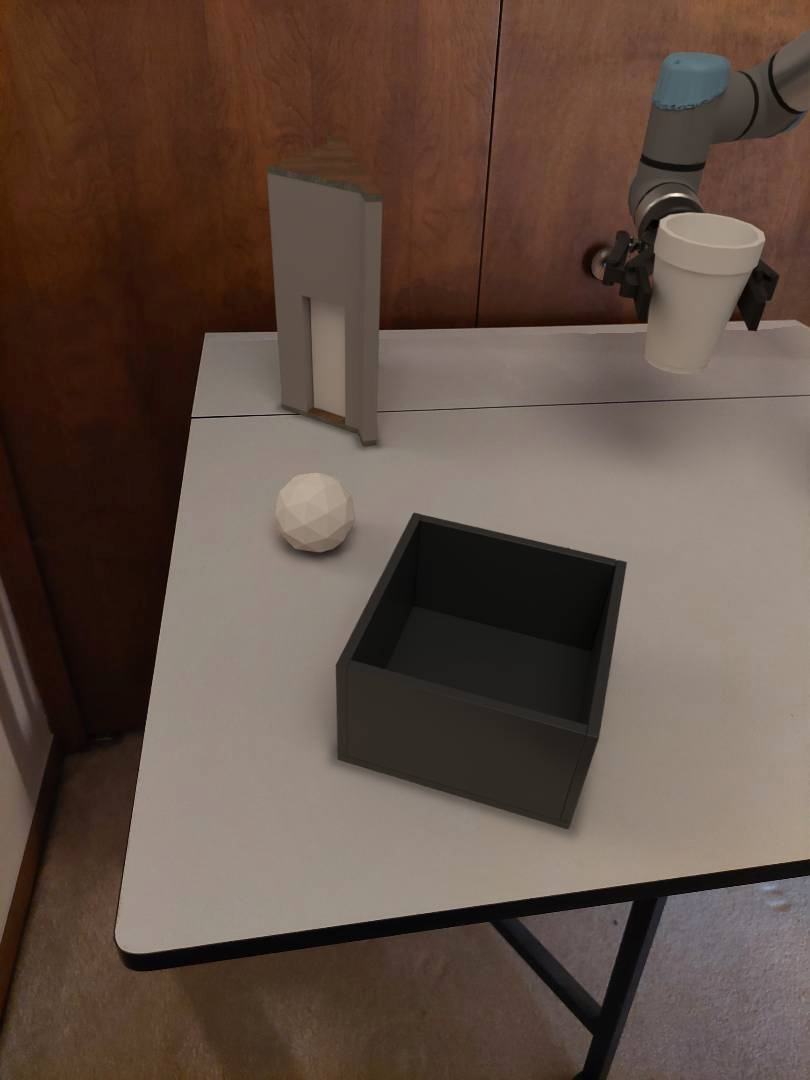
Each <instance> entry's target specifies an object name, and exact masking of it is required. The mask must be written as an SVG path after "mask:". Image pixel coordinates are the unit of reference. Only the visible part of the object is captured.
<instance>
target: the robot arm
mask: <svg viewBox="0 0 810 1080" xmlns="http://www.w3.org/2000/svg"><path fill="white" fill-rule="evenodd" d="M651 95H652V96H651V105H650V112H649V115H648V120H647V125H646V131H645V135H644V140H643V145H642V148H641V149H642V150H641V153H640V157H639V161H638V166H637V170H636V173H635V174H634V176H633V178H632V179H631V182H630V184H629V188H628V195H627V205H628V211H629V213H630V216H631V218H632V219H631V220H632V222H633V225H634V229H635V232H636V238H635V235H632V234H630V233H629V232H628V231H627V230H624V229H621V230H617V231H616V234H615V239H614V243H613V248H612V249H611V251H610V253H609V255H608V257H607V258H606V261H605V265H604V271H603V276H602V281H601V283H602V285H603V286H605V287H612V286H614V285H615V284H619V285H620V286H619V291H618V296H619V297H621V298H626V299H632V300H633V305H634V309H635V314H636V319H637V321H640V322H641V321H642V322H646V321H647V319H648V315H649V307H650V302H651V298H652V294H653V293H652V284H651V281H650V277H651V276H653V271H654V262H655V253H654V244H655V240H656V236H657V231H658V227H659V223H660V220H661V219H663V218H665V217H667V216H669V215H672V214H680V213H706V211H705V209H704V207H703V204H702V203H701V201H700V199H699V198H698V197H699V196H698V192H699V189H700V185H701V180H702V178H703V174H704V169H705V167H706V164H707V159H708V155H709V152H710V148H711V145H718V144H725V143H726V144H727V143H731V142H732V143H733V142H740V141H749V140H755V139H760V140H761V139H771V138H774V137H776V136H778V135H781V134H785V133H787V132H790V131H792V130H794V129H795V128H796V127H797V126H798V125H799V124H801V123H802V121H803V119H804V118H805V116H806V115H807V114H808V112H809V110H810V27H809V28H808V29H806V30H805V31H804V32H802V33H801V34H799V35H797V37H795V38H794V39H792V40H791V41H789V42H788V43H787V44H785V45H784V46H783V47H781V48H780V49H779V50H778V51H776V52H774V53H773V54H772V55H770V56H769V57H767V58H766V59H764V60H763V61H762V62H759V64H757V65H755V66H754V67H752V68H749V69H740V70H731V63H730V60H729V59H728V58H726V57H725V56H722V55H719V54H713V53H709V52H708V53H707V52H700V51H699V52H698V51H692V52H691V51H678V52H677V51H676V52H673V53H670V54H668V55H667V56H666V57H665V58H664V59H663V61H662V63H661V65H660V69H659V73H658V75H657V80H656V84H655V87H654V91H653V92H652V93H651ZM636 251H637V255H635V256H633V257H632V258H631V254H634V253H635V252H636ZM627 260H628V261H627ZM780 277H781V275H780V274H779V273H778V272H777V271H776V270H775V269H773V268H771V266H769V265H768V264H767V263H766V262H765V261H764V260H762V259H761V257H760V258H759V262H758V265H757V266H756V267H755V268H753V270H752V273H751V275H750V277H749V279H748V281H747V283H746V285H745V287H744V290H743V292H742V294H741V296H740V298H739V300H738V302H737V304H736V307H737V308H738V311H739V313H740V315H741V317H742V320H743V322H744V324H745V327H746V329H747V331H749V332H757V331H758V328H759V325H760V322H761V319H762V317H763V314H764V311H765V308H766V305H767V303H766V302H770V301H772V299H773V297H774V293H775V291H776V289H777V285H778V282H779V279H780Z"/></svg>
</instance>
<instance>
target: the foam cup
mask: <svg viewBox="0 0 810 1080" xmlns="http://www.w3.org/2000/svg"><path fill="white" fill-rule="evenodd" d="M765 243H766V237H765V233H764V231H762V230H761V229H759V228H758V227H756V226H755V225H753V224H752V223H749V222H746V221H743V220H740V219H737V218H735V217H731V216H725V215H720V214H715V213H710V212H709V213H708V212H707V213H706V212H705V213H680V214H672V215H669V216H667V217H665V218H663V219H661V220H660V223H659V227H658V231H657V236H656V240H655V244H654V253H655V262H654V271H653V274H652V281H651V289H652V293H653V294H652V298H651V302H650V306H649V310H648V315H647V326H646V335H645V343H644V356H643V358H644V359H645V360H646V361H647V362H648V363H649V365H651V366H653V367H655V368H657V369H659V370H661V371H664V372H668V373H672V374H679V375H680V374H681V375H691V374H698V373H701V372H703V371H704V370H705V369H707V367H708V365H709V363H710V361H711V359H712V357H713V355H714V353H715V351H716V349H717V347H718V345H719V343H720V340H721V338H722V336H723V334H724V332H725V330H726V328H727V326H728V323H729V322H730V319H731V317H732V315H733V313H734V311H735V309H736V307H737V302H738V300H739V298H740V296H741V294H742V292H743V290H744V287H745V285H746V283H747V281H748V279H749V277H750V275H751V273H752V270H753V268H755V267H756V266H757V265H758V262H759V258H760V259H761V255H762V252H763V248H764V246H765Z"/></svg>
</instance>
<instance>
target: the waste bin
mask: <svg viewBox="0 0 810 1080" xmlns="http://www.w3.org/2000/svg"><path fill="white" fill-rule="evenodd" d="M398 540H399V541H397V543H396V546H395V548H394V550H393V551H392V553H391V555H390V557H389V560H388V562H387V563H386V565H385V567H384V569H383V571H382V573H381V574H380V577H379V579H378V581H377V583H376V585H375V586H374V588H373V591H372V593H371V595H370V597H369V598H368V601H367V603H366V604H365V607H364V609H363V610H362V613H361V615H360V617H359V618H358V620H357V622H356V624H355V626H354V628H353V630H352V632H351V634H350V636H349V638H348V640H347V642H346V644H345V646H344V648H343V650H342V652H341V654H340V656H339V658H338V659H337V662H336V664H335V695H336V696H335V697H336V698H335V699H336V700H335V701H336V743H337V745H336V746H337V747H336V749H337V759H338V760H340V761H343V762H347V763H348V764H353V765H355V766H356V765H357V766H359V767H363V768H366V769H369V770H373V771H375V772H379V773H383V774H386V775H389V776H392V777H396V778H398V779H403V780H406V781H409V782H413V783H415V784H419V785H422V786H425V787H428V788H432V789H435V790H439V791H443V792H445V793H449V794H451V795H455V796H458V797H461V798H465V799H468V800H471V801H475V802H478V803H482V804H483V805H484V804H485V805H488V806H491V807H494V808H498V809H501V810H505V811H508V812H511V813H514V814H517V815H521V816H524V817H527V818H531V819H534V820H537V821H540V822H544V823H547V824H550V825H553V826H557V827H560V828H564V829H567V830H570V827H571V824H572V821H573V818H574V815H575V812H576V810H577V809H576V808H577V806H578V803H579V800H580V798H581V797H580V796H581V794H582V790H583V788H584V784H585V782H586V780H587V779H586V778H587V776H588V772H589V770H590V767H591V763H592V761H593V758H594V754H595V752H596V748H597V745H598V742H599V739H600V734H601V729H602V728H601V727H602V722H603V715H604V709H605V703H606V697H607V691H608V685H609V678H610V671H611V666H612V660H613V653H614V648H615V647H614V645H615V640H616V633H617V628H618V621H619V616H620V615H619V614H620V609H621V601H622V596H623V590H624V583H625V578H626V572H627V566H628V562H627V561H626V560H621V559H616V558H611V557H608V556H603V555H599V554H595V553H591V552H586V551H582V550H578V549H574V548H569V547H565V546H560V545H556V544H551V543H547V542H542V541H538V540H535V539H530V538H526V537H522V536H517V535H513V534H508V533H504V532H500V531H495V530H491V529H487V528H481V527H477V526H473V525H469V524H465V523H460V522H456V521H451V520H448V519H443V518H439V517H436V516H435V517H434V516H430V515H426V514H422V513H418V512H412V514H411V517H410V518H409V520H408V521H407V524H406V526H405V528H404V530H403V532H402V534H401V536H400V538H399V539H398Z"/></svg>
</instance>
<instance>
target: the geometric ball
mask: <svg viewBox="0 0 810 1080" xmlns="http://www.w3.org/2000/svg"><path fill="white" fill-rule="evenodd" d="M273 512H274V519H275V525H276V529H277V532H278V533H279V535H280V536H282V538H284V539H285V540H286V541H287V543H288V544H290V545H291V546H292V547H293V549H295V550H299V551H305V552H307V551H308V552H313V553H325V552H326V551H330V550H334V549H335V548H336V547H338V546H339V545H340V544H341V543H343V542H344V541H345V539H346V538H347V536H348V535H349V533H350V532H351V529H352V526H353V525H354V523H355V521H356V511H355V504H354V497H353V493H352V492H351V491H350V490H349V489H348V488H347V487H346V486H345V485H344V484H342V482H341V481H340V480H338V479H337V477H335V476H334V475H329V474H325V473H322V472H309V473H303V474H297V475H295V476H294V477H293V478H291V479H290V481H288V482H287V483H286V485H284V486H283V487H282V489H280V490H279V492H278V495H277V498H276V502H275V505H274V511H273Z"/></svg>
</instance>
